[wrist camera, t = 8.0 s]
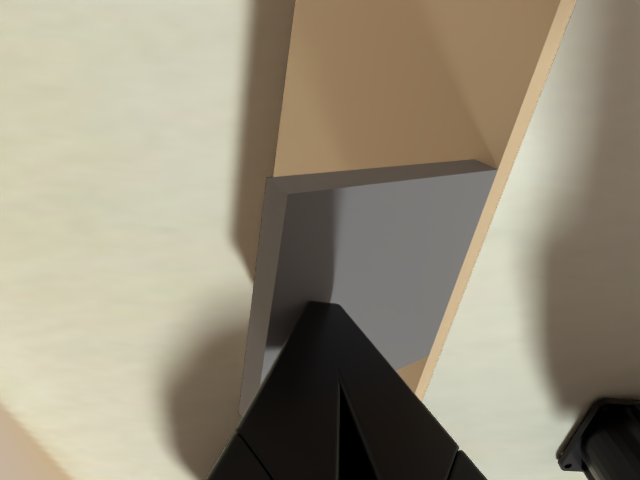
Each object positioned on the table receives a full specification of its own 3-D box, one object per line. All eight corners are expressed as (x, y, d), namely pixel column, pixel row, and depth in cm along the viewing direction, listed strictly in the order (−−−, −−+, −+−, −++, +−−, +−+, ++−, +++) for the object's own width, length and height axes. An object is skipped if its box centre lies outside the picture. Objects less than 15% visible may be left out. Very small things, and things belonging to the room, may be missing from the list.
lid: (382, 502, 15) (227, 606, 12) (261, 345, 20) (133, 386, 17) (684, -277, 6) (412, -663, 3) (335, -187, 12) (109, -296, 9)
